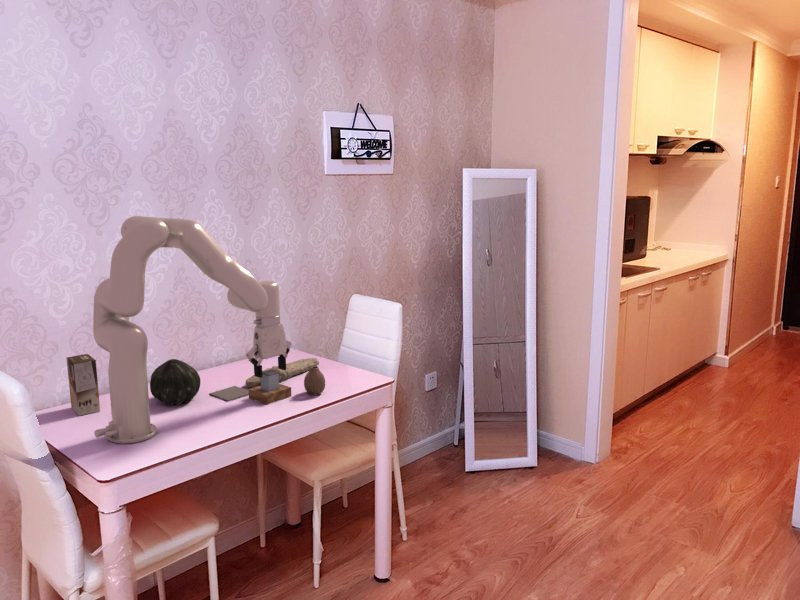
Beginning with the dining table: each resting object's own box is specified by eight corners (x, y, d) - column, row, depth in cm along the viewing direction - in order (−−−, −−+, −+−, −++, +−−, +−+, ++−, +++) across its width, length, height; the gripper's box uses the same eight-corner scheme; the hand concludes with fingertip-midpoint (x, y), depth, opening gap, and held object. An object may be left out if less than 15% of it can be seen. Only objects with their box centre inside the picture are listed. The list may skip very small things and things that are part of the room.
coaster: (228, 401, 203) (228, 400, 203) (209, 394, 210) (209, 393, 210) (253, 393, 211) (253, 392, 211) (234, 386, 217) (234, 385, 217)
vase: (319, 397, 207) (319, 371, 206) (300, 395, 210) (299, 369, 208) (328, 391, 214) (328, 365, 212) (310, 388, 216) (309, 363, 214)
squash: (184, 372, 215) (158, 346, 204) (216, 381, 207) (191, 355, 197) (158, 408, 208) (130, 384, 197) (191, 419, 201) (163, 394, 190)
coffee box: (101, 411, 194) (96, 359, 191) (78, 416, 190) (73, 363, 187) (92, 403, 201) (88, 353, 198) (70, 407, 197) (65, 356, 194)
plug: (269, 400, 205) (268, 374, 203) (261, 397, 207) (260, 372, 206) (279, 397, 208) (278, 371, 206) (271, 394, 210) (270, 369, 209)
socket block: (267, 404, 201) (266, 395, 200) (248, 398, 206) (248, 389, 206) (291, 396, 209) (291, 387, 208) (273, 390, 214) (272, 381, 214)
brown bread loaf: (326, 370, 242) (305, 367, 247) (325, 356, 241) (305, 353, 247) (260, 391, 212) (238, 387, 218) (259, 375, 212) (237, 372, 217)
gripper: (253, 328, 194) (256, 382, 197) (296, 317, 207) (298, 368, 211) (238, 324, 199) (241, 377, 202) (281, 314, 212) (283, 364, 215)
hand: (270, 372), depth 206 cm, fingers open, 9 cm apart
